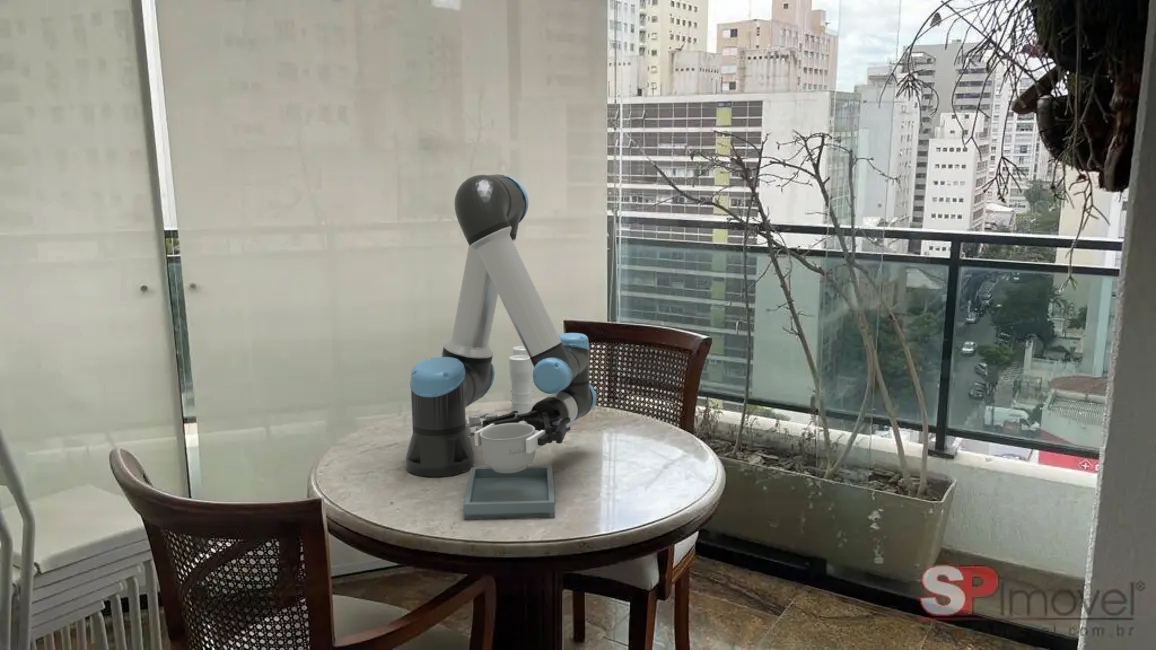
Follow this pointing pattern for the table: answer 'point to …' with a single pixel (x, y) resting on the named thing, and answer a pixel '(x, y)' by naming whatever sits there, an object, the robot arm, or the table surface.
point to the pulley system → (477, 421)
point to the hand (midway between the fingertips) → (501, 442)
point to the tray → (510, 494)
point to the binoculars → (521, 380)
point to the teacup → (507, 446)
